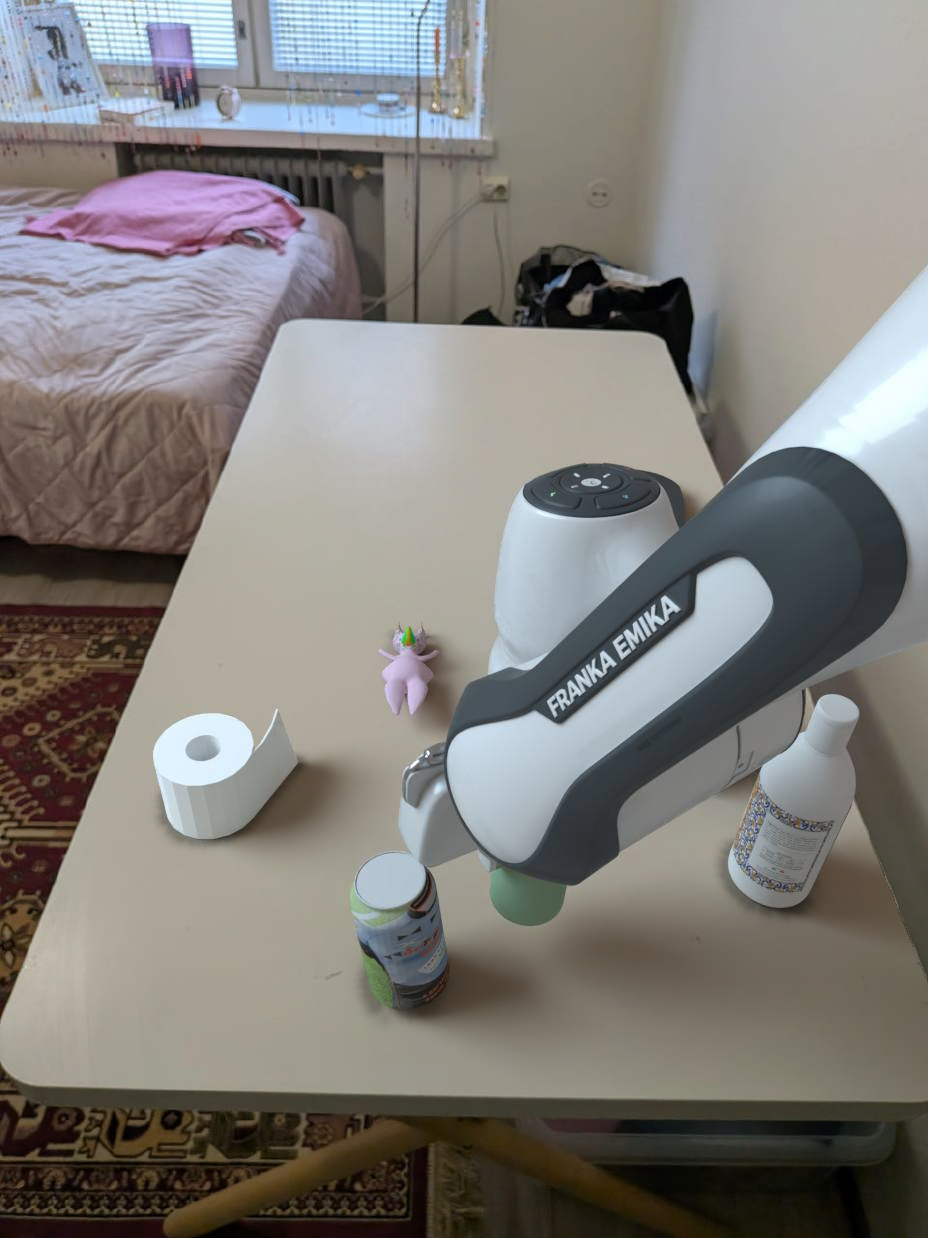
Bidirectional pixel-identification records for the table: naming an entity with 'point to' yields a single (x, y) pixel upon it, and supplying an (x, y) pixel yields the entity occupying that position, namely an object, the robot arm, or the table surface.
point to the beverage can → (400, 930)
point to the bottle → (525, 897)
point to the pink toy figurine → (407, 670)
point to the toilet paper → (219, 772)
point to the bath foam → (797, 809)
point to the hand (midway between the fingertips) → (535, 843)
